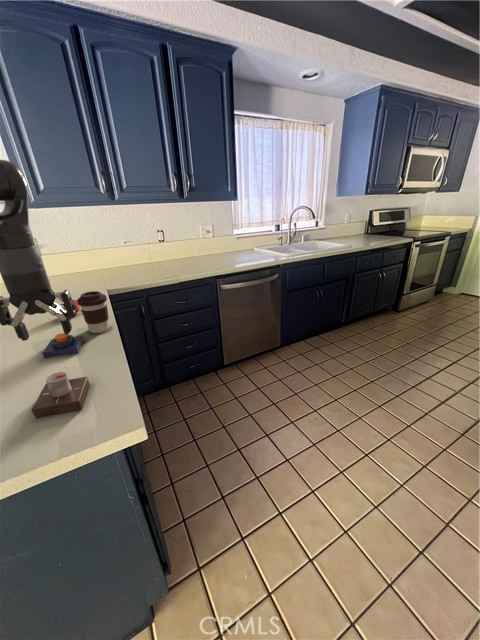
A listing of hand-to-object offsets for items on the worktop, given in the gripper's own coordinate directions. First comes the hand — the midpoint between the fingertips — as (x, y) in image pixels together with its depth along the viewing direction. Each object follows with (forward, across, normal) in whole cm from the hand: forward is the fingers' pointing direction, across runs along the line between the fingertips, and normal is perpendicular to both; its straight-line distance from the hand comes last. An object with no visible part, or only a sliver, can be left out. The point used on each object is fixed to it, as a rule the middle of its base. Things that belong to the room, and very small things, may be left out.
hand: (47, 336), depth 62 cm
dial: (+15, +1, +2) cm, 15 cm away
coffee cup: (+18, -2, -40) cm, 44 cm away
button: (+15, +7, -28) cm, 32 cm away
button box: (+18, +7, -28) cm, 34 cm away
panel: (+18, +1, +2) cm, 18 cm away
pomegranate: (+18, +10, -60) cm, 63 cm away
